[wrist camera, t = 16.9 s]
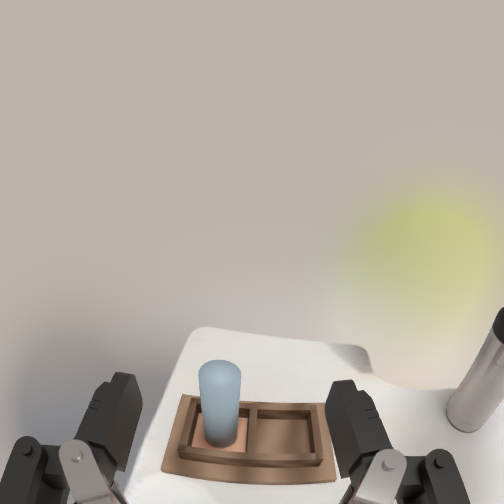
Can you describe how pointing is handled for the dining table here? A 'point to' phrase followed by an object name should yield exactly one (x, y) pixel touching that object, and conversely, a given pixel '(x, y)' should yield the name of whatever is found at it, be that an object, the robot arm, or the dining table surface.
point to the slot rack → (254, 445)
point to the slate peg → (220, 402)
